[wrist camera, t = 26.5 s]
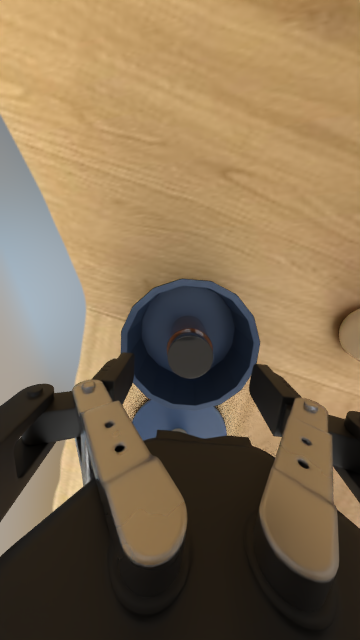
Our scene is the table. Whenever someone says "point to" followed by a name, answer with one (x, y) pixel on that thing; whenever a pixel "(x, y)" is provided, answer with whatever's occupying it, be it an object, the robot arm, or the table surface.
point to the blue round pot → (223, 330)
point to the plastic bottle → (351, 334)
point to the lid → (178, 421)
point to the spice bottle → (189, 348)
